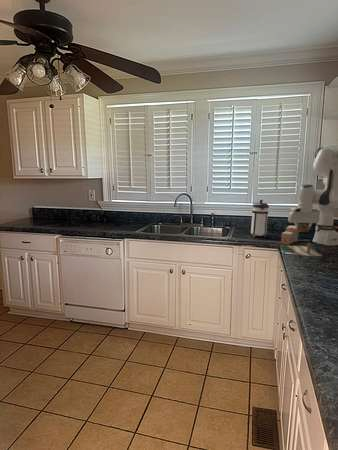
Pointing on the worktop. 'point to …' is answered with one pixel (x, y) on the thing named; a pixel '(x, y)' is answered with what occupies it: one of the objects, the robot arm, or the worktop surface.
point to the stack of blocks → (290, 235)
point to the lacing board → (306, 251)
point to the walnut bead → (303, 228)
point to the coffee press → (259, 219)
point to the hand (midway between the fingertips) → (302, 229)
